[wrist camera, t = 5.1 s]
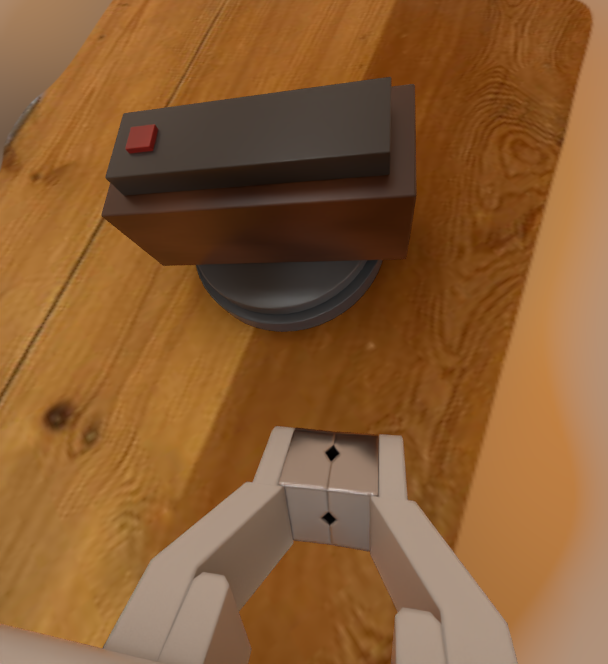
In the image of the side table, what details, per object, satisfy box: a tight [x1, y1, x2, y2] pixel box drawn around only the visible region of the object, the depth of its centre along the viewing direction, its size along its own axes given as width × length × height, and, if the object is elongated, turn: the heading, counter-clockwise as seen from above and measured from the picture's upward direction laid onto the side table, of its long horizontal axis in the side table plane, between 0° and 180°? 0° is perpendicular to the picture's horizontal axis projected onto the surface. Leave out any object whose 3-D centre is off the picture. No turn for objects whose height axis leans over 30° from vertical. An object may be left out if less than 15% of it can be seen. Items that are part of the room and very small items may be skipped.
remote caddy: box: [102, 77, 416, 315], centre depth 17 cm, size 14×11×8 cm
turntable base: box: [196, 260, 382, 332], centre depth 22 cm, size 12×12×2 cm
